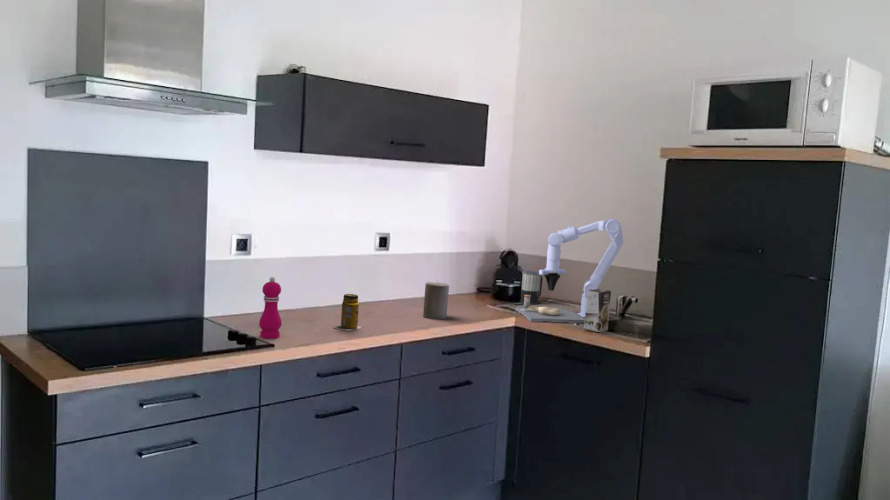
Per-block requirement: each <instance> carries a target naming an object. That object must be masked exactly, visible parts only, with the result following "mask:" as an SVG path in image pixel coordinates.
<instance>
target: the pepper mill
mask: <svg viewBox="0 0 890 500" xmlns="http://www.w3.org/2000/svg"><path fill="white" fill-rule="evenodd" d="M261 289H262V293H263V295H264V296H263V301H264V309H263V312H262V313H261V316H260V319H259V322H258V323H259V324H258V327H259V328H260V329H261V330H260V334H259V336H260V338H261V339H264V340H272V339H278V338H280V337H281V333H280V331H279V330H280V328H281V327H282V317H281V315H280V312H279V308H278V306H279V305H278V304H279V301H280V296H279V295H280V294H281V292H282V287H281V285H280V283H278V282H276V279H275V277H274V276H272V277H270V278H269V281H268V282H265V283H264V284H263V286H262V288H261Z"/></svg>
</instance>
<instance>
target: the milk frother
mask: <svg viewBox="0 0 890 500" xmlns="http://www.w3.org/2000/svg"><path fill="white" fill-rule="evenodd" d="M521 272H522V279H521V280H522V281H521V292H522V293H521V294H520V297H521V299H520V300H519V302H520V303H521V304H524V295H531V297H530V305H539V304H540V296H541V294H542V289H543V288H542V287H543V275H541V274H539V271H536V270H535V271H534V270H523V271H521Z"/></svg>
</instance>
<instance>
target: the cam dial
mask: <svg viewBox="0 0 890 500" xmlns="http://www.w3.org/2000/svg"><path fill="white" fill-rule="evenodd" d="M530 297H531V295H524V303H523V308H526V309H528V310H536V311H538V313H540V314H544V315H560V309H561V308H558V307H552V306H539V307H537V306H531V304H530Z"/></svg>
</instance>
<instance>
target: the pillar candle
mask: <svg viewBox="0 0 890 500" xmlns="http://www.w3.org/2000/svg"><path fill="white" fill-rule="evenodd" d="M449 290H450V284H449V283H445V282H441V281H438V280H436V281H427V282H425V285H424V297H423V298H424V299H423V313H422V317H424V318H427V319H432V320H445V319H447V316H448V304H449V303H448V302H449V292H450V291H449Z"/></svg>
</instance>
